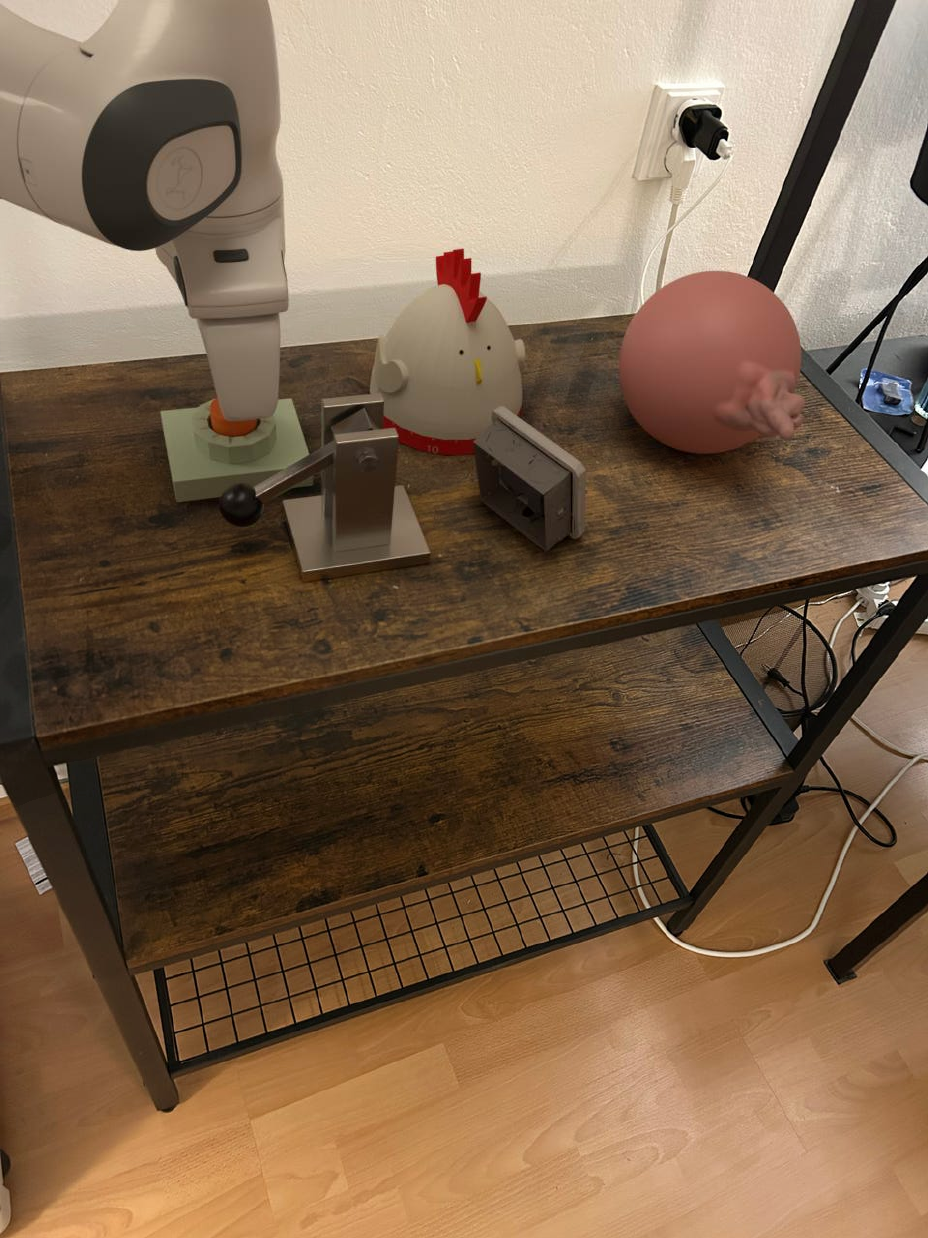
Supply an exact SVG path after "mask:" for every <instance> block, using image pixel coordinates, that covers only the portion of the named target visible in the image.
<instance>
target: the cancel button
mask: <svg viewBox="0 0 928 1238" xmlns="http://www.w3.org/2000/svg"><path fill="white" fill-rule="evenodd" d="M213 399H214V400H213V401H212V402H211V404H210V415H211V424H212V428H213V429H214V430H215V432H217V433H218V434H220V435H223V436H227V437H240V436H246V435H248V434H250V433H252V432H253V431H254V430H255V428H256V426H257V419H254V420H244V421H228V420H226V419H225V417H224V416H223V414H222V411H221V408H220V405H219V402H218V398H217V397H215V398H213Z"/></svg>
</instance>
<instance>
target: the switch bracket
mask: <svg viewBox="0 0 928 1238" xmlns="http://www.w3.org/2000/svg"><path fill="white" fill-rule="evenodd" d="M363 408H365V410H366V411H367V412H368V414H369V415H370V417H371V418H372V419H373V421H374V422H375V423H376V425H377V426H378V428H379V430H370V431H361V432H352V433H343V434H335V435H333V432H332V429H331V427H332V426H334V425H335V424H337V423H339V422H341V421H342V420H344V419H346V418H347V417H349V416H351V415H353V414H354V413H356V412H358V411H359V410H361V409H363ZM320 412H321V413H320V415H321V416H320V417H321V418H320V423H321V426H320V433H321V434H320V435H321V436H320V442H321V443H320V444H321V445H320V448H321V447H323V446H325V445H326V444H328V443H330V442H332V441H333V440H334V453H333V464H332V465H330V466H329V467H327V468H325V469H323V470H322V471H320V473H321V474H320V475H321V477H320V480H321V481H320V485H321V488H320V492H321V493H320V494H321V495H313V496H305V497H298V498H297V497H296V498H290V499H283V500H282V512H283V516H284V520H285V524H286V527H287V530H288V534H289V538H290V541H291V545H292V549H293V552H294V556H295V559H296V563H297V566H298V570H299V573H300V577H301V580H302V583H308V582H315V581H321V580H322V581H323V580H328V579H333V578H340V577H346V576H347V577H348V576H354V575H361V574H367V573H373V572H380V571H388V570H393V569H401V568H406V567H407V568H408V567H414V566H421V565H427V564H430V562H431V553H432V552H431V550H430V548H429V544H428V543H427V540H426V537H425V535H424V533H423V530H422V527H421V525H420V523H419V522H420V521H418V518H417V515H416V513H415V510H414V507H413V504H412V502H411V501H410V498H409V494H408V492H407V491H406V488H405V485H404V484H400V485H396V479H397V477H396V476H397V466H398V465H397V464H398V452H399V441H398V439H399V436H398V434H397V431H396V429H395V428H388V429H383V414H384V400H383V397H382V395H381V393H377V394H370V393H367V394H359V395H347V396H339V397H328V398H321V400H320Z"/></svg>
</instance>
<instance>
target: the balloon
mask: <svg viewBox="0 0 928 1238" xmlns="http://www.w3.org/2000/svg"><path fill="white" fill-rule="evenodd" d="M618 358H619V359H618V377H619V385H620V389H621V393H622V396H623V399H624V401H625V404H626V406H627V408H628V410H629V412H630V413H631V415H632V416H633V418H634V419H635V421H636V423H638V425H639V426H640V427H641V428H642V429H643V430H644V431H645V432H646V433H647V434H648V435H649V436H651V437H652V438H654V440H657V441H658V442H660V443H662V444H664V445H665V446H668V447H670V448H672V449H675V450H677V451H682V452H685V453H692V454H700V455H701V454H702V455H704V454H706V455H708V454H718V453H719V454H720V453H723V452H727V451H731V450H735V449H737V448H740V447H742V446H745V445H747V444H748V443H751V442H752V441H754V440H755V439H757V438H758V437H760V436H762V437H764V438H767V439H768V438H769V439H770V438H775V437H777V436H779V437H780V439H781V440H783V441H790V440H792V439H793V438H794V436H795V431H796V430H798V429H799V428H800V427H801V426H802V425H803V423H804V415H803V414H802V413H801V411H802V409H804V407H805V404H806V401H805V398H804V397H803V396H802V395H800V394H798V393H795V391H796V389H797V386H798V382H799V378H800V375H801V374H800V373H801V368H802V367H801V366H802V346H801V340H800V335H799V331H798V328H797V325H796V322H795V320H794V318H793V316H792V313H791V312H790V311H789V309H788V308H787V306H786V305H785V303H784V302H783V301H782V300H781V298H780V297H779V296H778V295H777V294H776V293H774V292H773V291H772V290H771V289H770V288H768V287H767V286H766V285H765V284H763V283H761V282H759V281H758V280H756V279H754V278H752V277H749V276H748V275H744V274H741V273H737V272H733V271H727V270H705V271H698V272H693V273H689V274H687V275H684V276H681V277H678V278H677V279H673V281H671V282H669V283H667V284H665V285H664V286H661V288H660V289H658V290H657V291H656V292H654V293H653V294H652V295H651V296H650V297H648V298H647V299H646V301H644V303H643V304H641V306H640V307H639V309H638V310H637V311H636V313H635V314H634V316H633V318H632V319H631V321H630V323H629V324H628V326H627V329H626V331H625V333H624V337H623V339H622V343H621V347H620V351H619V357H618Z"/></svg>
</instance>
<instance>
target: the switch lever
mask: <svg viewBox="0 0 928 1238" xmlns="http://www.w3.org/2000/svg"><path fill="white" fill-rule="evenodd" d="M331 429H332V432H333V435H335V434H343V433H352V432H361V431H370V430H379V428H378V426H377V425H376V423H375V422H374V421H373V419H372V418H371V417H370V415H369V414H368V412H367V411H366V410H365V408H363V409H361V410H359V411H358V412H356V413H354V414H353V415H351V416H349V417H347V418H346V419H344V420H342V421H341V422H339V423H337V424H335V425H334V426H332V427H331ZM333 453H334V440H333V441H332V442H330V443H328V444H326V445H325V446H323V447H321V446H320V448H318V449H316V450H314V451H313V452H311V453H309V455H308V456H306V457H304V458H302V459H301V460H299V461H297V462H295V463H294V464H292V465H290V466H289V467H287V468H285V469H283V470H282V471H280V472H278V473H277V474H275V475H273V476H271V477H270V478H268V479H266V480H265V481H263V482H261V483H259V484H258V485H256V486H254V487H253V486H251V485H249V484H245V483H237V484H233V485H231V486H229V487H228V488H227V489H225V490H224V492H223V493H222V495H221V497H219V501H218V508H219V512H220V514H221V516H222V519H224V520H225V522H227V523H228V524H230V525H231V526H234V527H237V528H247V527H250V526H252V525H255V524H256V523H258V522H259V520H260V519H261V517H262V516H263V513H264V510H265V504H266V503H268V502H270V501H272V500H273V499H275V498H277V497H278V496H280V495H282V494H284V493H286V492H287V491H289V490H291V489H293V488H292V487H294V486H296V485H297V484H299V483H301V482H303V481H304V480H306V479H308V478H310V477H311V476H313V477H314V475H317V474H318V473H321V471H322V470H323V469H325V468H327V467H329V466H330V465H332V464H333Z"/></svg>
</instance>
